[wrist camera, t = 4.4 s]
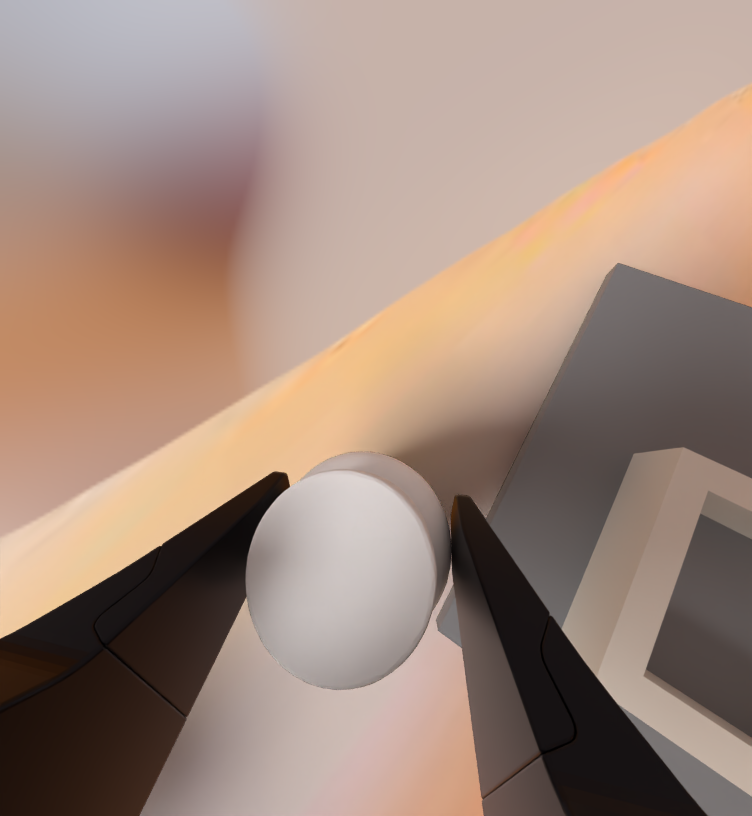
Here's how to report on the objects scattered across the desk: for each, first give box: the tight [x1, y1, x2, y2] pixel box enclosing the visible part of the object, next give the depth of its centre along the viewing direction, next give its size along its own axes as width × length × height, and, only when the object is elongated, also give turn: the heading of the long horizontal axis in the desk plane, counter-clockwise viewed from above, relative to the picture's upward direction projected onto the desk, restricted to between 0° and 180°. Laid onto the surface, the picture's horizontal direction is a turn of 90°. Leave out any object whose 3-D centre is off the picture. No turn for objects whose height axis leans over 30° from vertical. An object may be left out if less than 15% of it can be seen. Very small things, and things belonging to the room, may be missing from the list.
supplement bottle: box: [245, 452, 451, 690], centre depth 10 cm, size 5×5×10 cm
